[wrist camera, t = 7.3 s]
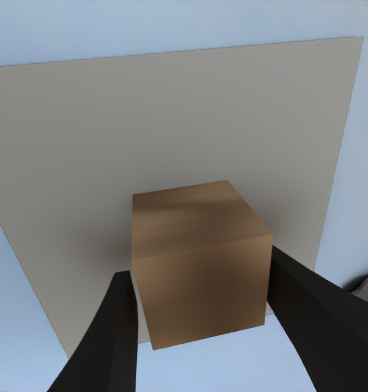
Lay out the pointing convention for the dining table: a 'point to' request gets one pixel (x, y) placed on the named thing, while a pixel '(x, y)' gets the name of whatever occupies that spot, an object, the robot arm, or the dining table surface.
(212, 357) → the dining table surface
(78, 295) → the grey mat
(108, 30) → the dining table surface
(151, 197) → the walnut cube
